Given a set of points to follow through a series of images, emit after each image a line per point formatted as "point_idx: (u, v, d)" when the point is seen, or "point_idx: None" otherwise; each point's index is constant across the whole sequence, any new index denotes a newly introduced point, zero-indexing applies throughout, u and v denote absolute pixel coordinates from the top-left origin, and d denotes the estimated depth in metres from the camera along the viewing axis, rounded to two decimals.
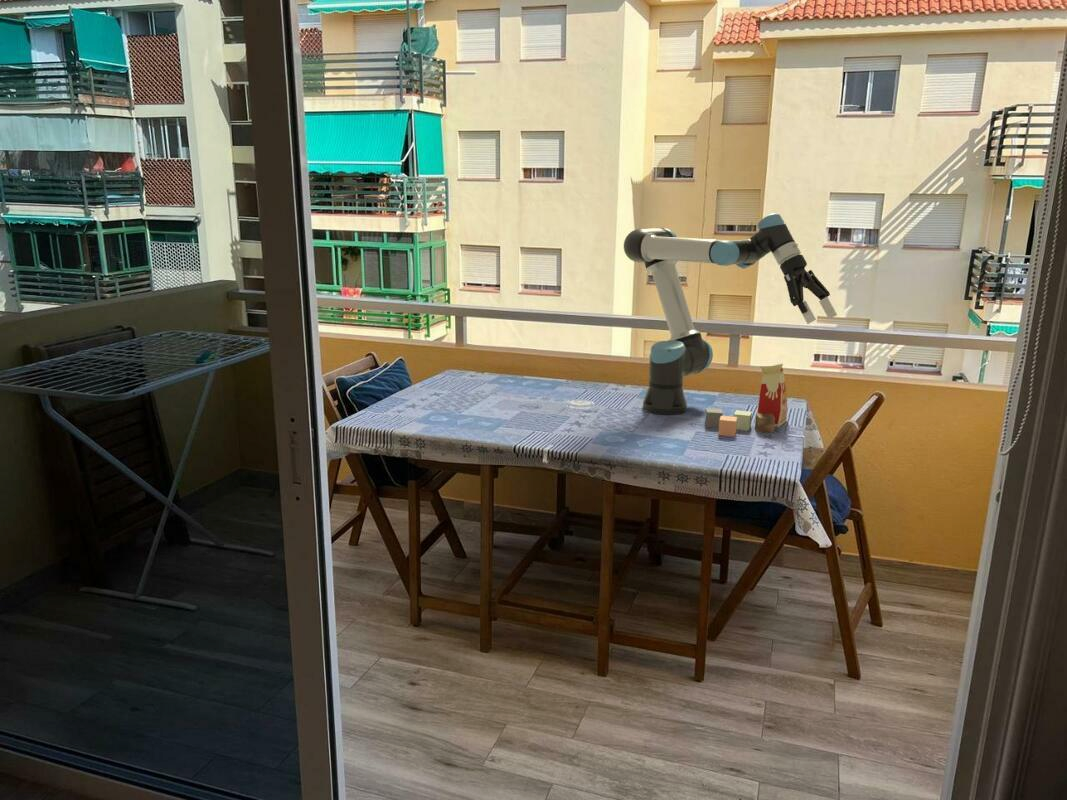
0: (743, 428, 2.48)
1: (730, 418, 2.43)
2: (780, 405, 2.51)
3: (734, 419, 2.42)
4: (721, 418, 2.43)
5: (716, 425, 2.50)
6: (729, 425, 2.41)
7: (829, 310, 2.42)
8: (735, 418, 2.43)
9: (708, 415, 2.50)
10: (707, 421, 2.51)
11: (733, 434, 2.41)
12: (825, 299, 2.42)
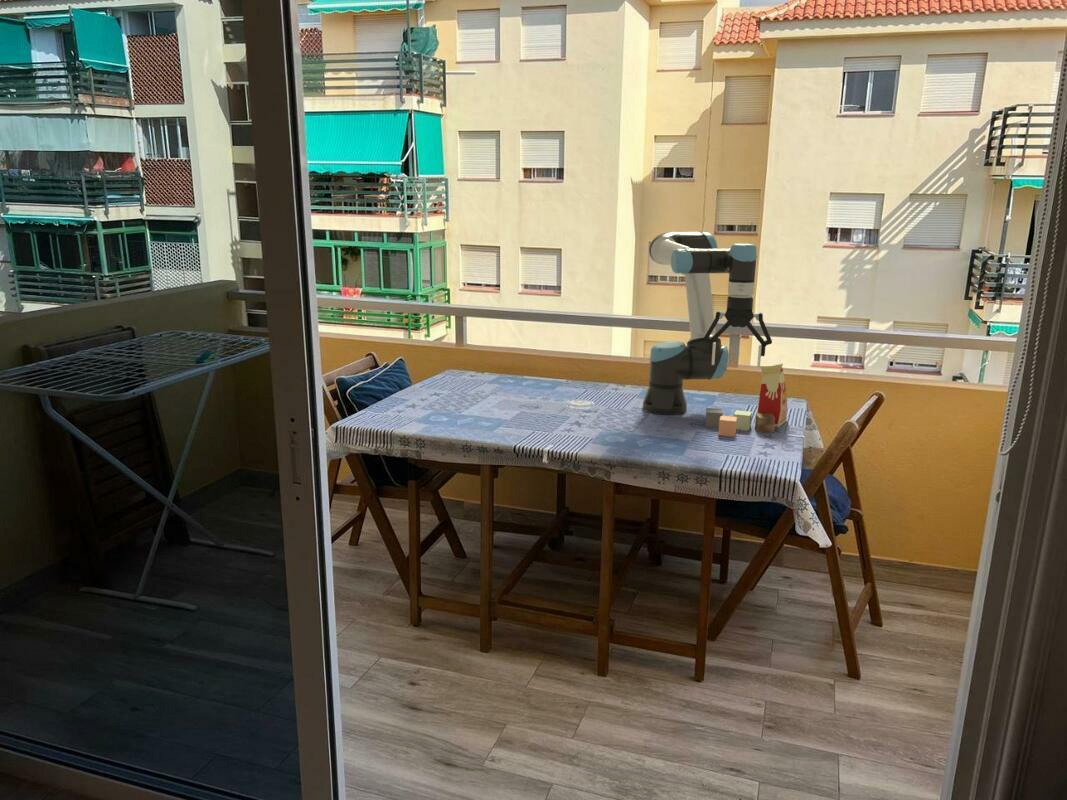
0: (743, 428, 2.48)
1: (730, 418, 2.43)
2: (780, 405, 2.51)
3: (734, 419, 2.42)
4: (721, 418, 2.43)
5: (716, 425, 2.50)
6: (729, 425, 2.41)
7: None
8: (735, 418, 2.43)
9: (708, 415, 2.50)
10: (707, 421, 2.51)
11: (733, 434, 2.41)
12: None
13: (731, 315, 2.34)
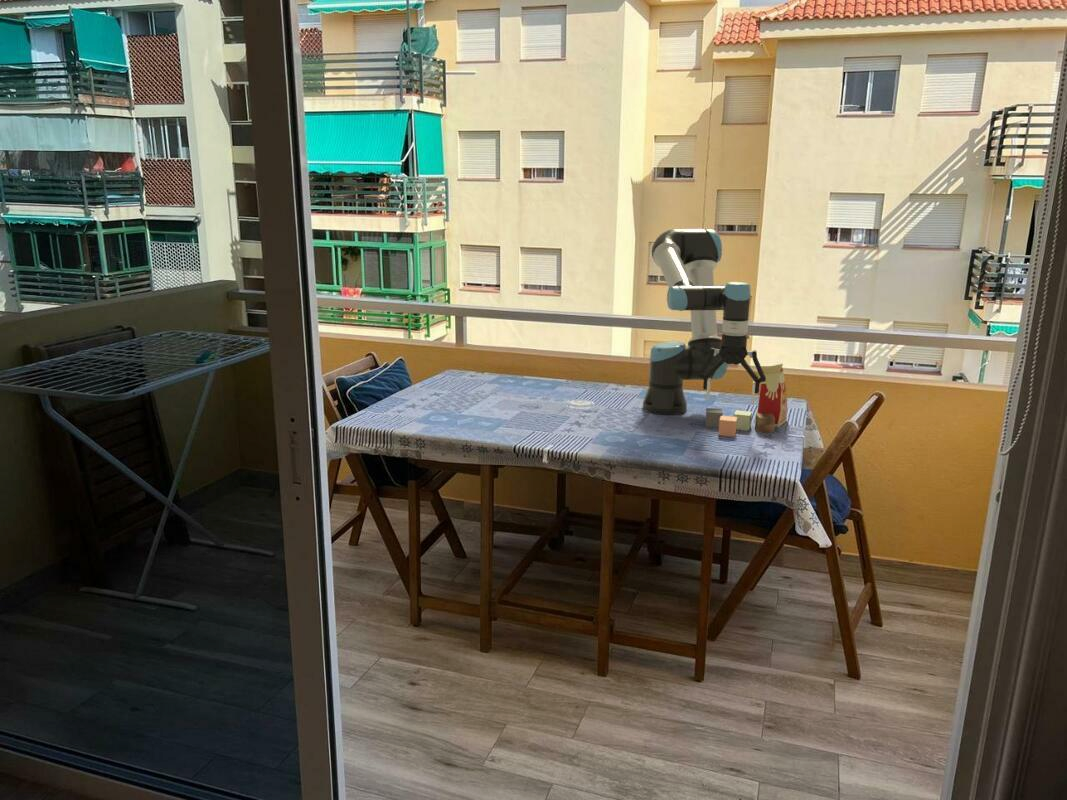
0: (743, 428, 2.48)
1: (730, 418, 2.43)
2: (780, 405, 2.51)
3: (734, 419, 2.42)
4: (721, 418, 2.43)
5: (716, 425, 2.50)
6: (729, 425, 2.41)
7: None
8: (735, 418, 2.43)
9: (708, 415, 2.50)
10: (707, 421, 2.51)
11: (733, 434, 2.41)
12: None
13: (725, 352, 2.37)
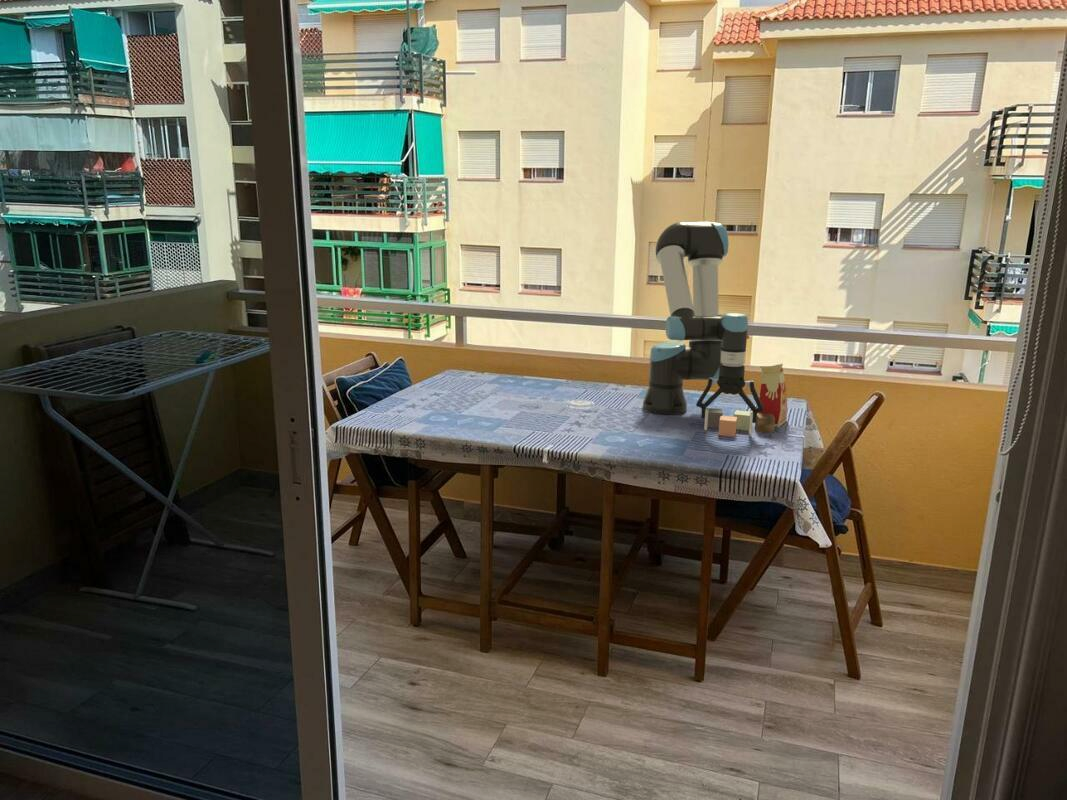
0: (743, 428, 2.48)
1: (730, 418, 2.43)
2: (780, 405, 2.51)
3: (734, 419, 2.42)
4: (721, 418, 2.43)
5: (716, 425, 2.50)
6: (729, 425, 2.41)
7: None
8: (735, 418, 2.43)
9: (708, 415, 2.50)
10: None
11: (733, 434, 2.41)
12: (750, 414, 2.40)
13: (723, 382, 2.40)
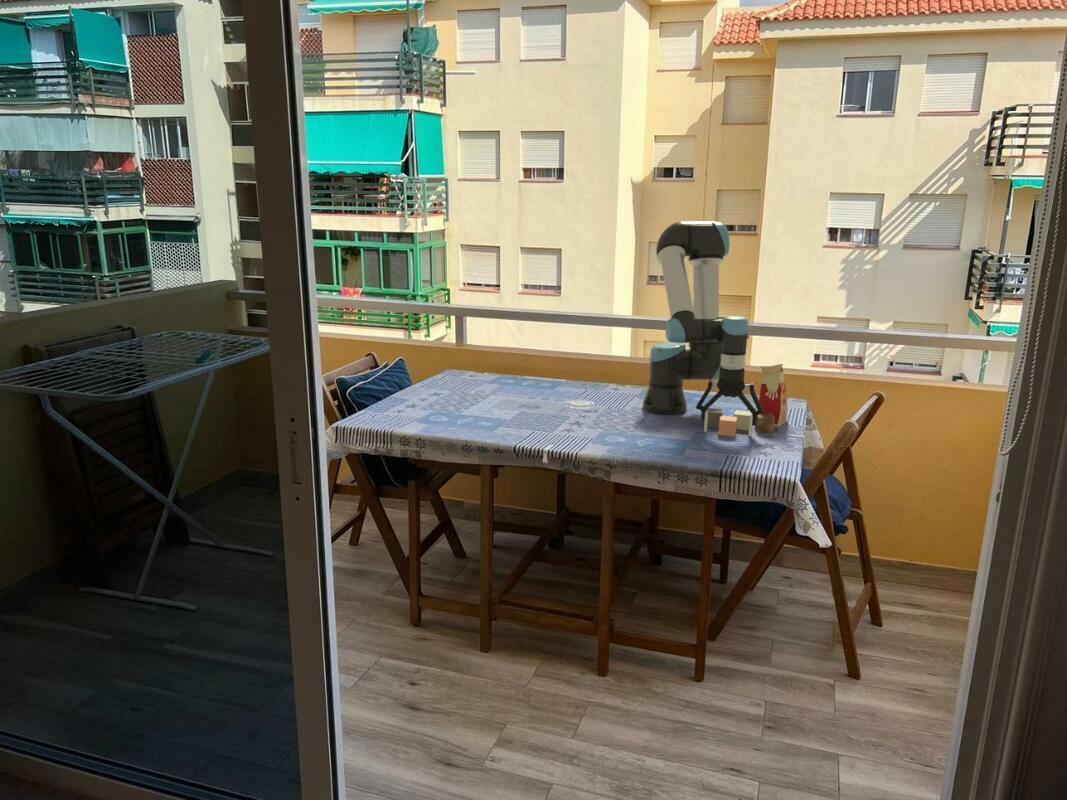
0: (743, 428, 2.48)
1: (730, 418, 2.43)
2: (780, 405, 2.51)
3: (734, 419, 2.42)
4: (721, 418, 2.43)
5: (716, 425, 2.50)
6: (729, 425, 2.41)
7: None
8: (735, 418, 2.43)
9: (708, 415, 2.50)
10: None
11: (733, 434, 2.41)
12: (750, 417, 2.40)
13: (723, 385, 2.40)
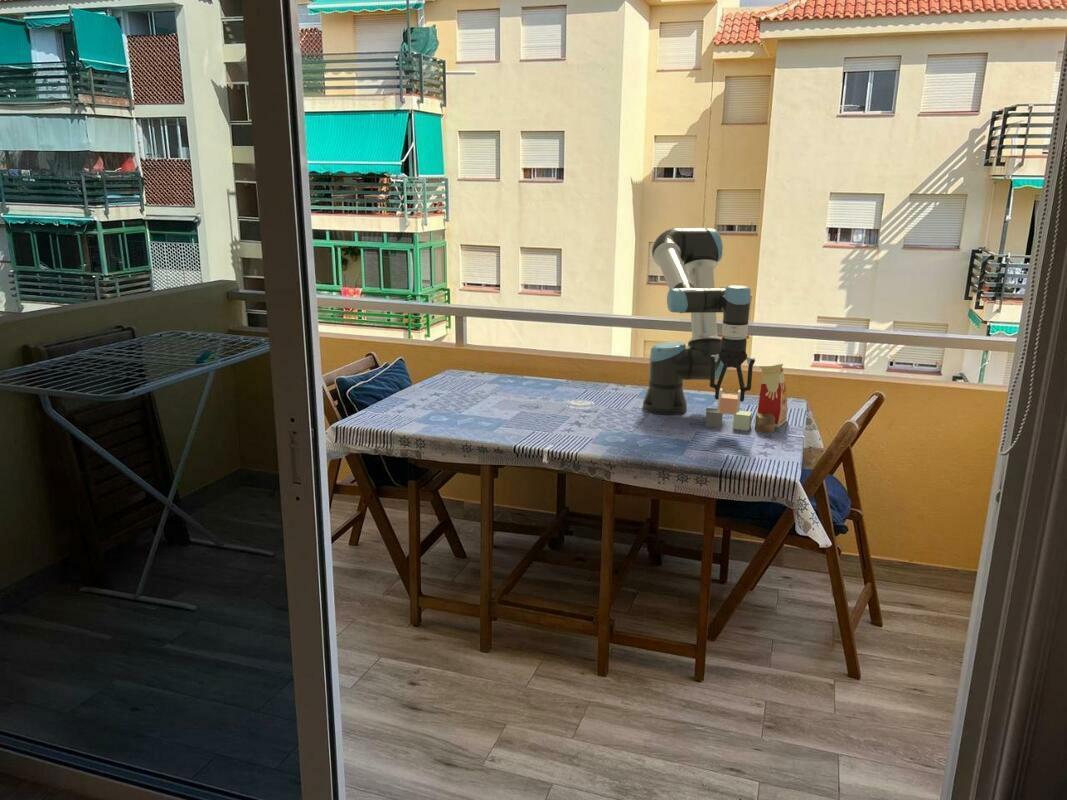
0: (743, 428, 2.48)
1: (731, 396, 2.41)
2: (780, 405, 2.51)
3: (735, 397, 2.40)
4: (722, 396, 2.41)
5: (716, 425, 2.50)
6: (730, 403, 2.39)
7: None
8: (736, 396, 2.41)
9: (708, 415, 2.50)
10: (707, 421, 2.51)
11: (734, 412, 2.40)
12: (738, 393, 2.40)
13: (724, 354, 2.37)
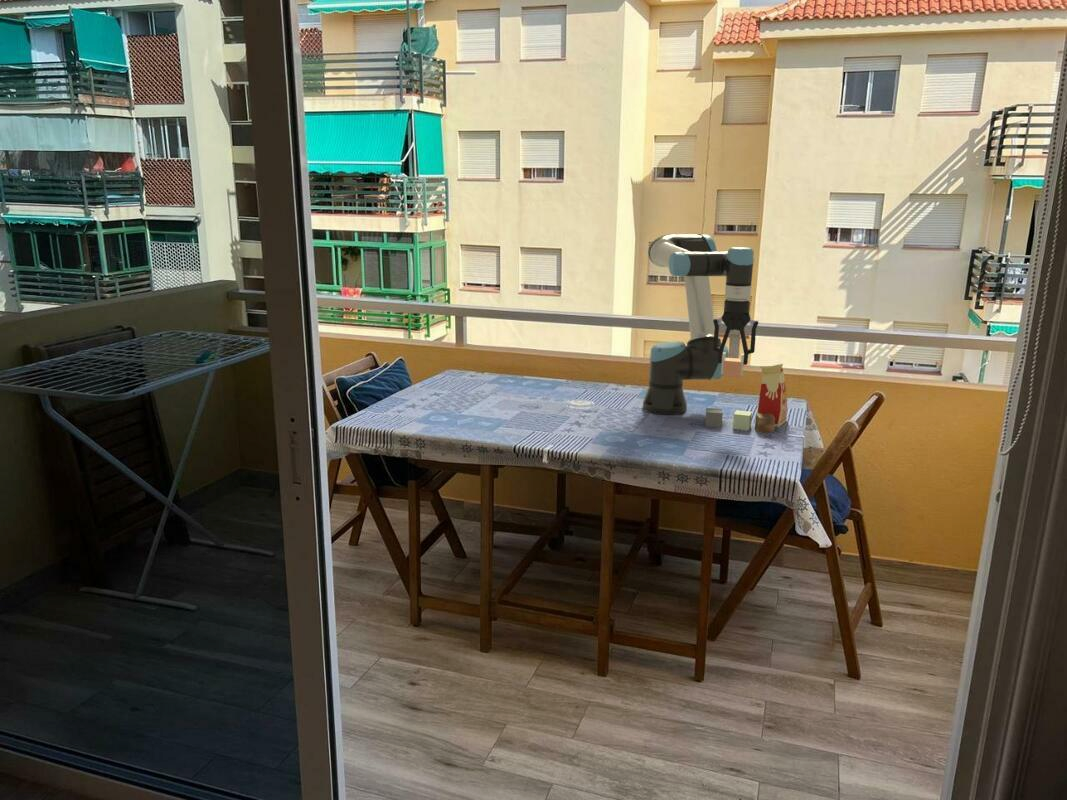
0: (743, 428, 2.48)
1: (735, 359, 2.40)
2: (780, 405, 2.51)
3: (739, 360, 2.39)
4: (726, 359, 2.40)
5: (716, 425, 2.50)
6: (733, 366, 2.38)
7: None
8: (740, 359, 2.40)
9: (708, 415, 2.50)
10: (707, 421, 2.51)
11: (738, 375, 2.38)
12: (741, 356, 2.38)
13: (728, 317, 2.36)
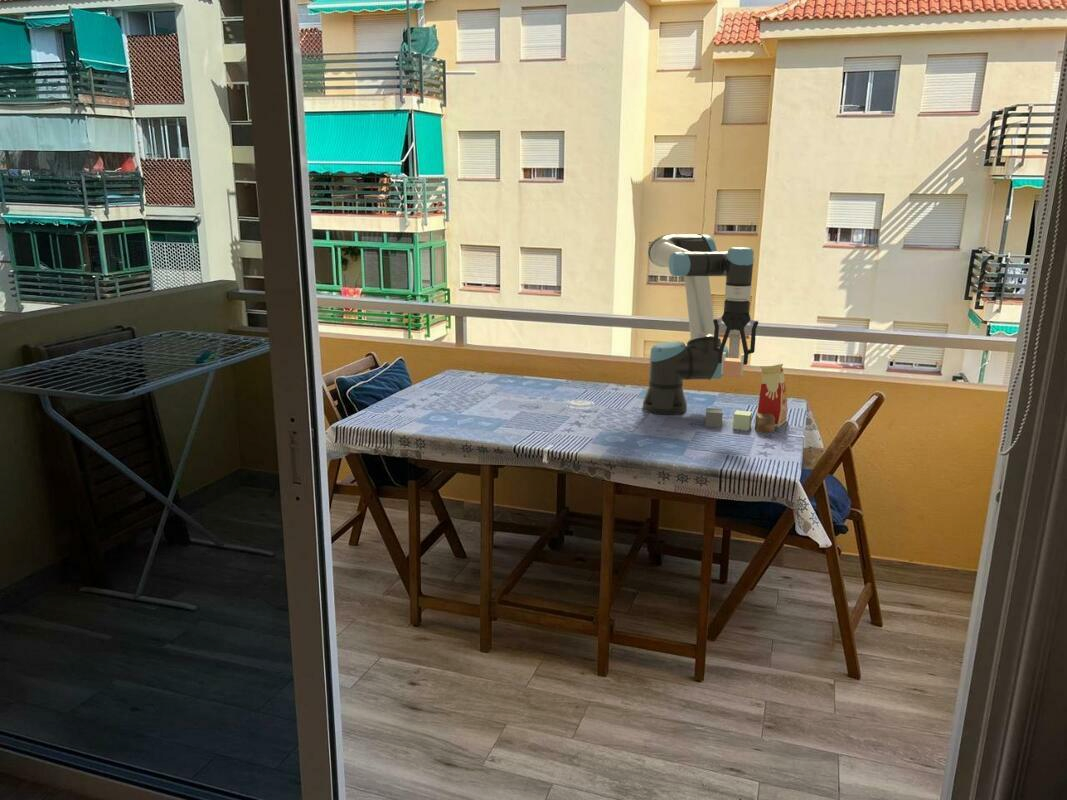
0: (743, 428, 2.48)
1: (735, 359, 2.40)
2: (780, 405, 2.51)
3: (739, 360, 2.39)
4: (726, 359, 2.40)
5: (716, 425, 2.50)
6: (733, 366, 2.38)
7: None
8: (740, 359, 2.40)
9: (708, 415, 2.50)
10: (707, 421, 2.51)
11: (738, 375, 2.38)
12: (741, 356, 2.38)
13: (728, 317, 2.36)
